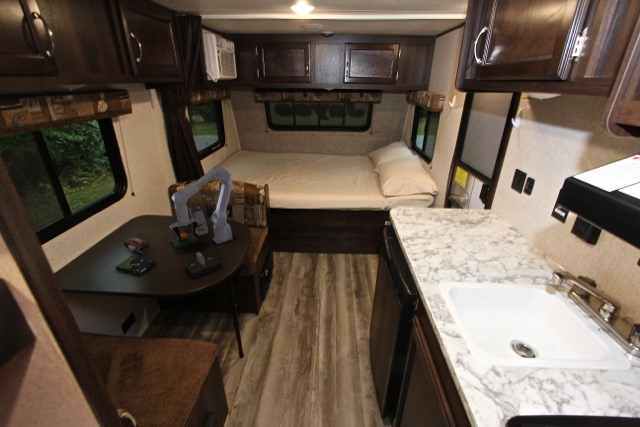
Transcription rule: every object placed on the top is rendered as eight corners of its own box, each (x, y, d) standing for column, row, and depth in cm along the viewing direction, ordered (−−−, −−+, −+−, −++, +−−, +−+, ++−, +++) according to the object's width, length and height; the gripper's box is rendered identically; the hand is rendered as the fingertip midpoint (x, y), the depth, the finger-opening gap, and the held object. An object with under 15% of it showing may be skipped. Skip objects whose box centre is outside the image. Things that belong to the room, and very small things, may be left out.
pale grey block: (197, 259, 150) (195, 252, 148) (200, 258, 151) (199, 251, 149) (201, 265, 145) (200, 257, 144) (205, 263, 147) (203, 256, 145)
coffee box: (209, 232, 181) (205, 209, 174) (198, 236, 177) (194, 212, 170) (203, 227, 187) (199, 204, 181) (193, 230, 183) (188, 207, 177)
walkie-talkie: (120, 247, 165) (142, 256, 157) (118, 240, 163) (140, 249, 155) (135, 240, 172) (157, 249, 164) (133, 233, 170) (155, 242, 162)
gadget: (211, 257, 157) (210, 252, 156) (220, 267, 149) (220, 262, 147) (184, 267, 149) (183, 262, 147) (193, 278, 140) (191, 273, 139)
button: (186, 234, 171) (185, 232, 171) (188, 237, 169) (187, 234, 168) (179, 236, 169) (178, 234, 168) (181, 239, 166) (180, 236, 166)
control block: (192, 236, 177) (191, 230, 176) (198, 242, 171) (197, 236, 169) (171, 242, 170) (170, 236, 169) (176, 249, 164) (175, 243, 162)
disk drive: (156, 264, 150) (133, 259, 154) (154, 260, 149) (132, 255, 153) (139, 276, 141) (115, 270, 145) (138, 272, 140) (114, 266, 144)
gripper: (170, 220, 148) (175, 243, 153) (198, 213, 156) (202, 235, 162) (166, 216, 152) (171, 238, 158) (194, 208, 161) (198, 230, 167)
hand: (187, 236), depth 160 cm, fingers open, 7 cm apart
